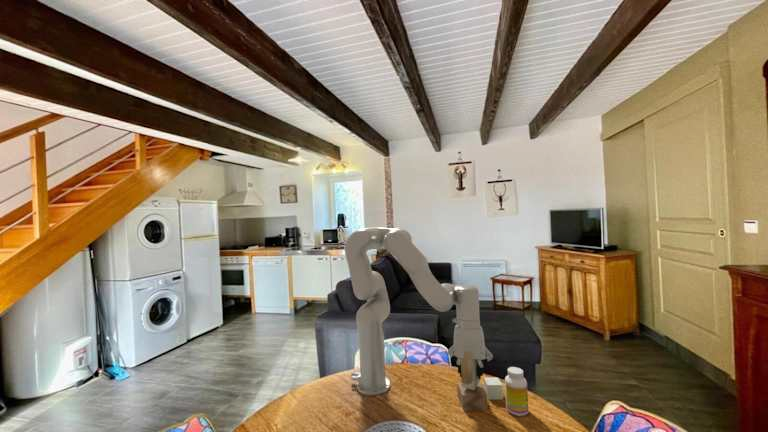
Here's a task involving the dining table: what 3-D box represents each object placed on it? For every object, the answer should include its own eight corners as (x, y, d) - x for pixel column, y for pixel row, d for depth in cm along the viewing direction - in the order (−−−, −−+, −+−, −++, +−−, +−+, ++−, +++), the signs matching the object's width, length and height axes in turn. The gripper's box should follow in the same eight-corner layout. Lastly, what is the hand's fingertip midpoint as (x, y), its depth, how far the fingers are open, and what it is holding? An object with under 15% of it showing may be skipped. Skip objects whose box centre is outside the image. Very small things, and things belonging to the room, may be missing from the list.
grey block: (488, 399, 105) (487, 385, 105) (484, 391, 110) (483, 377, 110) (503, 399, 105) (502, 384, 105) (498, 391, 110) (498, 377, 110)
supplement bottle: (531, 417, 95) (529, 376, 95) (508, 416, 96) (506, 374, 96) (525, 404, 101) (523, 365, 102) (504, 403, 103) (502, 364, 103)
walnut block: (463, 410, 100) (462, 395, 100) (457, 396, 108) (457, 382, 108) (487, 409, 100) (487, 394, 100) (480, 395, 108) (479, 381, 108)
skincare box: (467, 378, 108) (466, 343, 108) (480, 382, 106) (478, 346, 106) (461, 387, 103) (459, 350, 103) (473, 391, 100) (472, 353, 101)
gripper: (441, 324, 104) (443, 378, 103) (495, 328, 98) (497, 385, 98) (444, 317, 111) (446, 368, 111) (494, 320, 105) (496, 374, 105)
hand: (470, 375), depth 104 cm, fingers closed on skincare box, 5 cm apart
